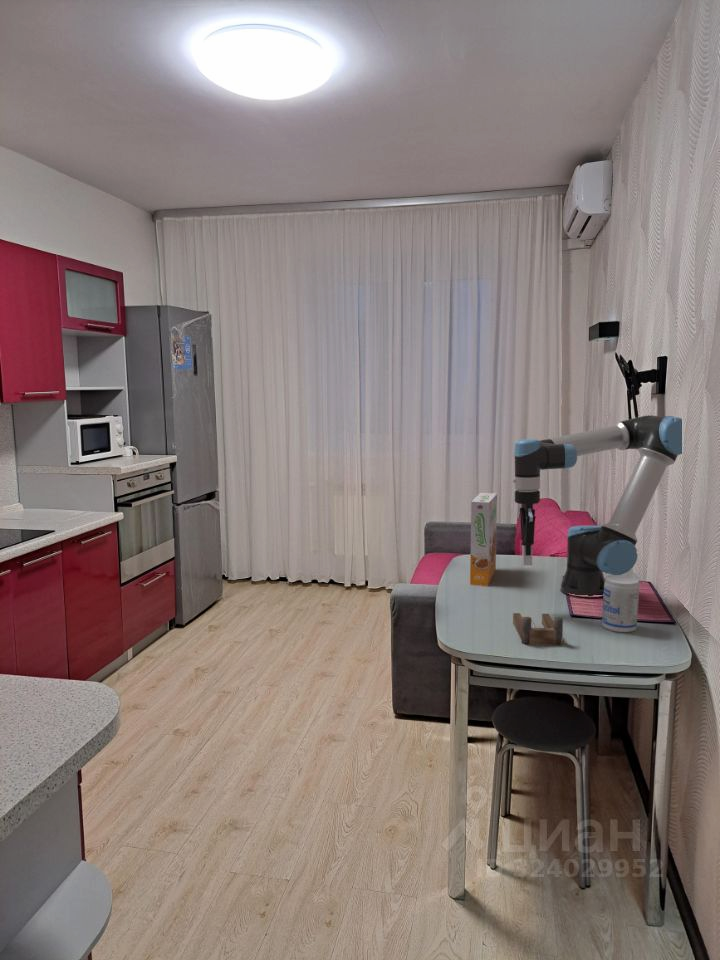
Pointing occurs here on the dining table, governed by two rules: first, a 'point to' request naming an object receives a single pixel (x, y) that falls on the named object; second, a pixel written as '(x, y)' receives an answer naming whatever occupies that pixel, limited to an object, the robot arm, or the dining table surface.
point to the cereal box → (483, 538)
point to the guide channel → (539, 630)
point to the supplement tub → (620, 603)
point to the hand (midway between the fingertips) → (527, 564)
